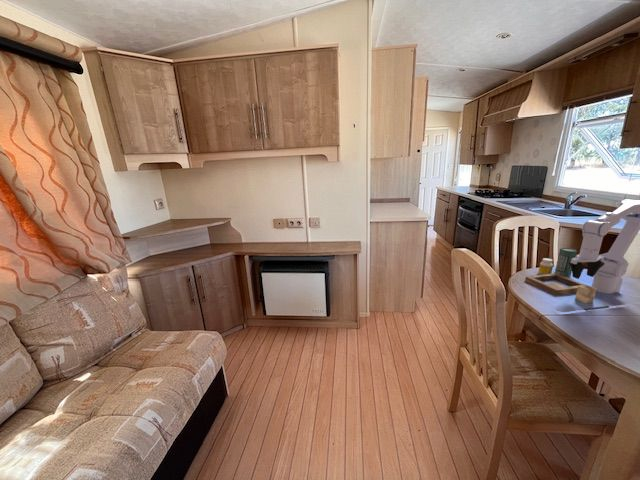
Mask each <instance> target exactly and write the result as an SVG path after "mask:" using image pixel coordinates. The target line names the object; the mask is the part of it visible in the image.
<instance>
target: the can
mask: <svg viewBox="0 0 640 480" xmlns="http://www.w3.org/2000/svg"><path fill="white" fill-rule="evenodd" d="M577 251H578V250H577V249H574V248H569V247H561V248H560V249H559V252H558V255H557V256H558V257H557V262H556V266H555V270H554V273H557V274H560V275H562V276H565V277H570V276H572V269H571V266H570V264H569V261H571V259H573V258H575V257H576V255H577Z"/></svg>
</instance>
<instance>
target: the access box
mask: <svg viewBox="0 0 640 480" xmlns="http://www.w3.org/2000/svg"><path fill="white" fill-rule="evenodd" d="M554 279H555V280H558V281H561V282H564V283H565V284H568V285H570V286H565V285H563V284H560V283H558V282H555V281H551V282H544V281H545V280H547V281H548V280H554ZM524 281H525V282H527V283H528V284H530V285H533V286H534V287H537V288H539V289H541V290H544V291H545V292H547V293H550V294H553V295H555V296H562V295H569V294H576V293H577V289H578V286H580V285H586V284H585V283H583V282H580V281H577V280H575V279H573V278H569V277H568V276H562V275H560V274H557V273H555V272H554V273H551V274H544V275H540V274H537V275H535V274H534V275H527V276H525V279H524Z"/></svg>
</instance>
